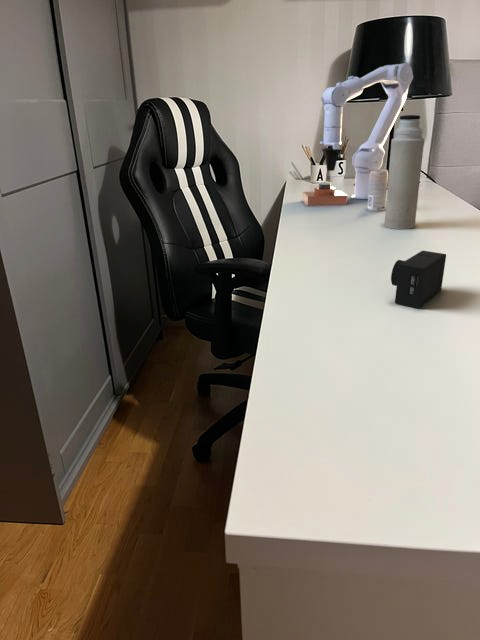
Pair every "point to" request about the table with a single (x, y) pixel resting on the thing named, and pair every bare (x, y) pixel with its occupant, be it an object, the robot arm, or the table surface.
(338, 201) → the orange stepped block
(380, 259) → the table surface
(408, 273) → the digital camera
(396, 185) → the thermos bottle
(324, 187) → the lid button
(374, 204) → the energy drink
